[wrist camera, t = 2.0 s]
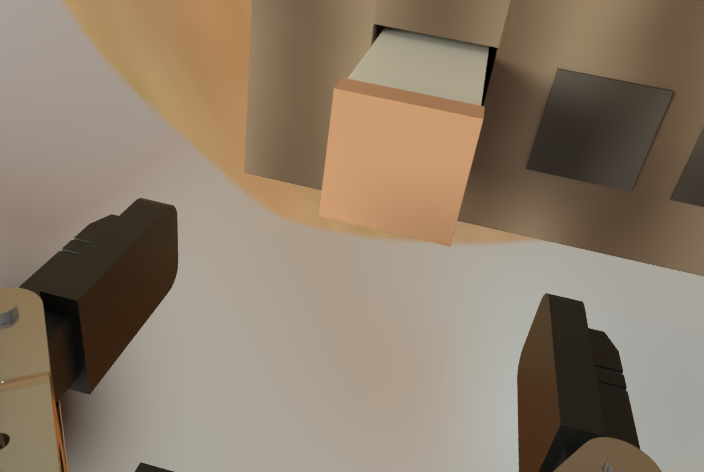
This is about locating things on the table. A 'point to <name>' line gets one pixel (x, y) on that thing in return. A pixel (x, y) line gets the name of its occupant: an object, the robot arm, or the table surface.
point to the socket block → (519, 111)
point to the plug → (405, 135)
